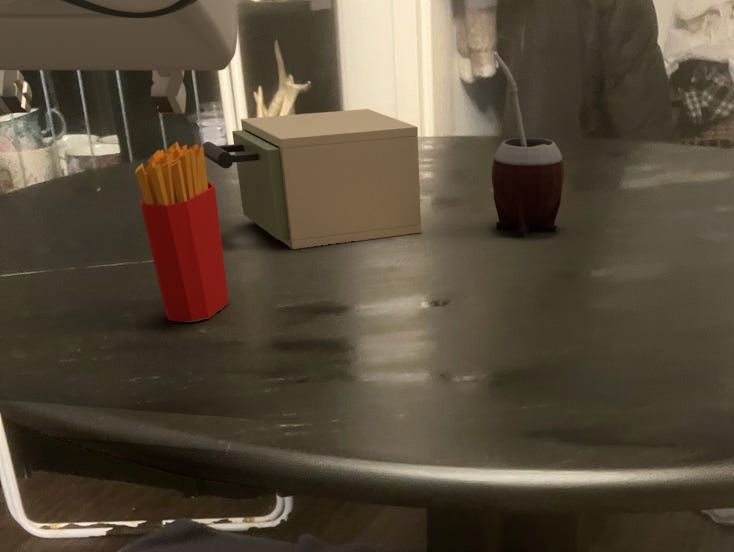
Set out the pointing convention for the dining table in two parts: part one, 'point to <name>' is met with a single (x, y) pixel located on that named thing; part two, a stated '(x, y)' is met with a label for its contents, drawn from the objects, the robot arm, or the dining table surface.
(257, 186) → the drawer
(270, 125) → the cabinet
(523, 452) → the dining table surface
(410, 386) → the dining table surface
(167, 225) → the french fries
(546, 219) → the mate gourd
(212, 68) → the robot arm
